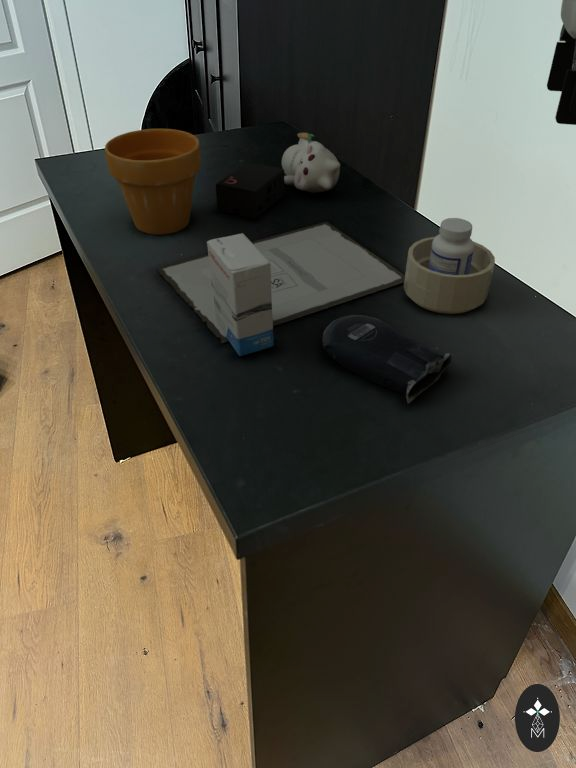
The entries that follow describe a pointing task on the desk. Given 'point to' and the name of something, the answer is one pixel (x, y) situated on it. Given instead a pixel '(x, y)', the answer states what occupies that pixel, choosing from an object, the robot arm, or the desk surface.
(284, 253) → the picture frame
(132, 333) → the desk surface
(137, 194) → the flower pot
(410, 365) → the black pouch
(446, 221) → the pill bottle
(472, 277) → the basin
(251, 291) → the ink box
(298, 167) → the cat figurine
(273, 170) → the electronic device
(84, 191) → the desk surface
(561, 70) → the robot arm
